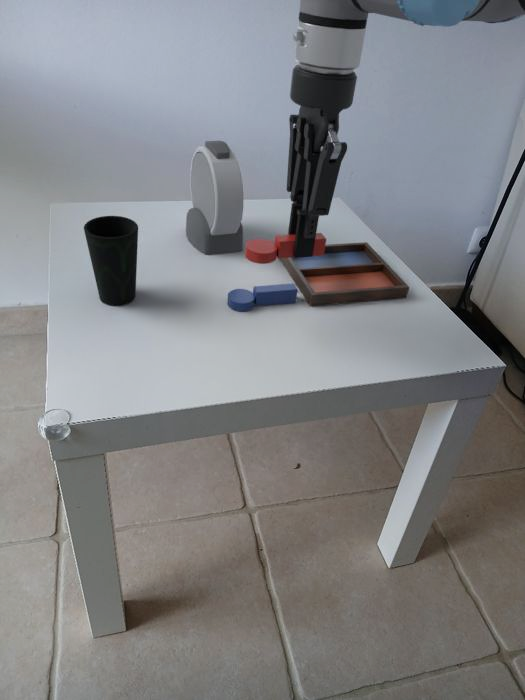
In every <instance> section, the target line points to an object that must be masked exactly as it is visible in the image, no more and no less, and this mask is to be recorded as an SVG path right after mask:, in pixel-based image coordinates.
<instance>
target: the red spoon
mask: <svg viewBox="0 0 525 700" xmlns="http://www.w3.org/2000/svg"><path fill="white" fill-rule="evenodd" d="M295 235H296V234H293V235H288V234H280V235H279V234H278V235H277V234H276V235H275V236H274V241H272V240H269V239H266V238H253V239H250V240H248V241H246V243H245V249H244V250H245V251H244V256H245V258H246V259H247V260H248V261H250V262H252V263H254V264H259V265H266V264H267V265H268V264H271V263H273V262H275V261H276V260H277V259H279V258H291V257H294V256H293V251H294V244H295ZM326 243H327V238H326V237H325V236H324V234H323V233H322V232H316V238H315V244H314V250H313V256H320V255H324V250H325V245H327V244H326Z"/></svg>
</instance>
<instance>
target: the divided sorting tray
mask: <svg viewBox="0 0 525 700" xmlns="http://www.w3.org/2000/svg"><path fill="white" fill-rule="evenodd" d="M278 259H279V261H280V262H281V263H282V265H283V267H284V268H285V269H286V271H287V273H288V274H289V276H290V277H291V279H292V280H293V283H294V284H295V286H296V287H297V289H298V290H299V291H300V293H301V294H302V296H303V297H304V299H305V300H306V302H307V303H308V305H309V307H319V306H330V305H341V304H351V303H363V302H364V303H365V302H375V301H385V300H387V301H388V300H396V299H406V298H407V296H408V294H409V290H410V286H409V285H408V284H407V283H406V282H405V281H404V280H403V279H402V278H401V276H399V274H398V273H397V272H396V271H395V270H394V269H393V268H392V267H391V266H390V265H389V264H388V263H387V262H386V261H385V260H384V259H383V258H382V257H381V256H380V255H379V253H378V252H377V251H376V250H375V249H374V248H373V247H372V246H371V245H370V243H368V242H367V241H366V242H365V241H364V242H346V243H331V244H330V243H329V244H328V243H327V244H325V250H324V255H320V256H313V257H300V258H294V257H291V258H278Z"/></svg>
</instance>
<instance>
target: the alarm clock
mask: <svg viewBox="0 0 525 700" xmlns="http://www.w3.org/2000/svg"><path fill="white" fill-rule="evenodd" d="M190 163H191V164H190V173H189V184H190V186H189V187H190V198H191V204H192V207H191V208H189V209H188V211H187V213H186V217H185V218H186V219H185V220H186V222H185V236H186V238H187V240H188V242H189V243H190V244H191V246H193V247H194V248H195V249H196V250H197V251H198V252H200V253H202V254H203V255H205V256H211V255H219V254H220V255H221V254H230V253H238V252H242V251H243V247H244V245H243V244H244V226H243V224H242V220H243V215H244V213H243V212H244V199H245V198H244V196H245V195H244V185H243V179H242V171H241V169H240V165H239V161H238V160H237V156H236V155H235V153H234V152H233V150H232V149H231V148H230V147H229V145H228V144H227V142H225V141H223V140H206V141H205V142H204V145H201V146H200V145H199V146H198V147H196V149H195V151H194V152H193V155H192V158H191V162H190Z"/></svg>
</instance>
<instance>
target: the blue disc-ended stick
mask: <svg viewBox="0 0 525 700" xmlns="http://www.w3.org/2000/svg"><path fill="white" fill-rule="evenodd" d="M298 290H299V288H298V287H297V285H296V283H295V282H293V283H281V284H268V285H267V284H266V285H255V286H253V288H252V291H251V290H249V289H246V288H235V289H232V290H230V291H229V292H228V293H227V298H226V299H227V300H226V303H227V306H228V307H229V309H231V310H233V311H236V312H248V311H251V310H252V309H254V307H260V306H272V305H284V304H285V305H286V304H295V303H297V298H298V297H297V296H298Z"/></svg>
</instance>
